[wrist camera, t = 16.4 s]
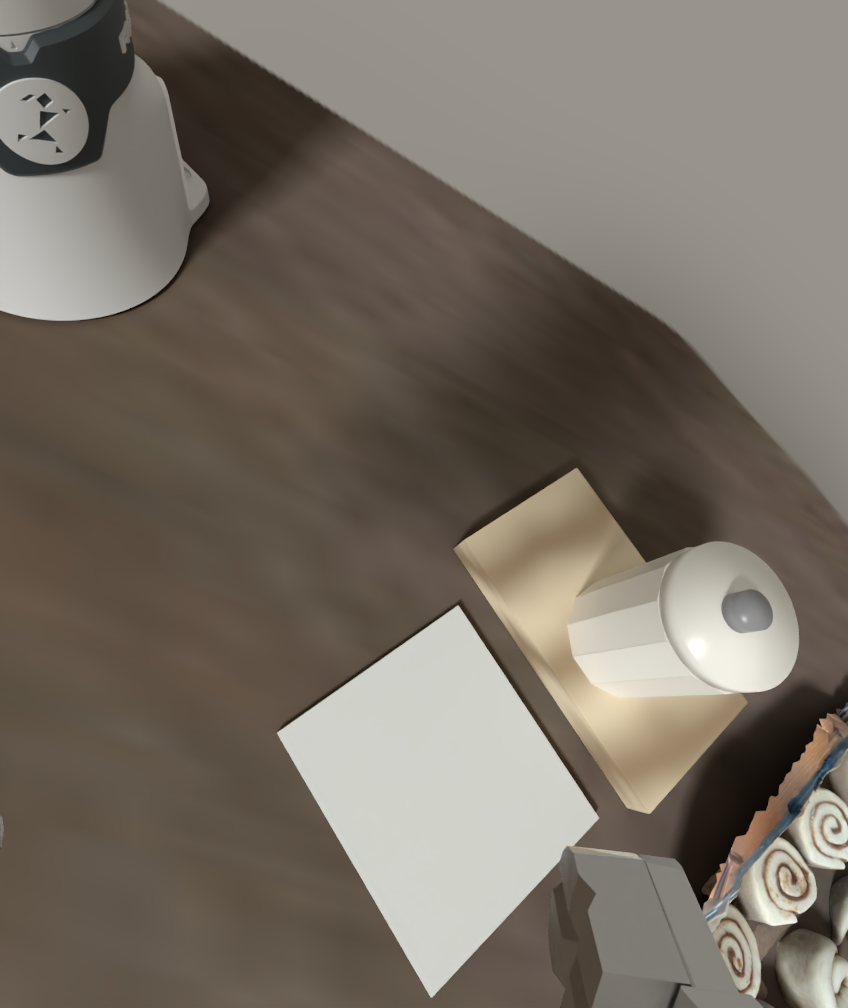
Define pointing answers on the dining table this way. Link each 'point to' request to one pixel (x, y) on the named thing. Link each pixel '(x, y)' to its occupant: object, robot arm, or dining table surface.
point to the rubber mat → (439, 792)
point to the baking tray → (789, 880)
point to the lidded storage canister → (686, 626)
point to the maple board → (545, 639)
